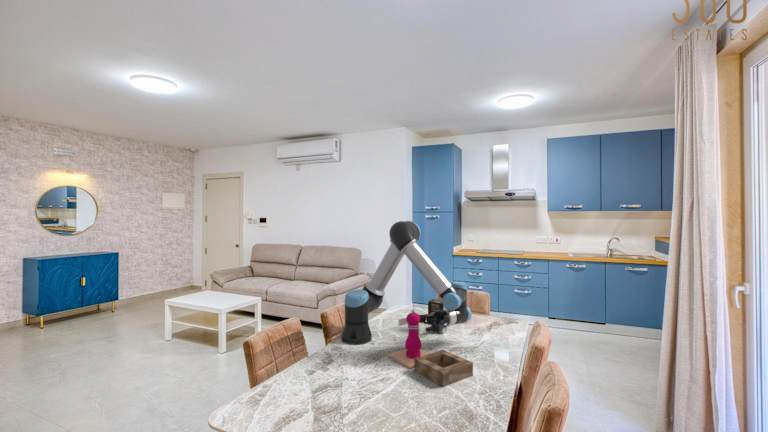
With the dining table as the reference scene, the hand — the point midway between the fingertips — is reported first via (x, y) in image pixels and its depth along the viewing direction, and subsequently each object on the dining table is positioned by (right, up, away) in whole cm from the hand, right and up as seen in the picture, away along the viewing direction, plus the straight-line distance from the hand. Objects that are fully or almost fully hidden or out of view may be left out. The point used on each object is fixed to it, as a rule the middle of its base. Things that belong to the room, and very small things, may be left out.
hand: (408, 326), depth 150 cm
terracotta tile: (+2, -14, +2) cm, 14 cm away
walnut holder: (+12, -14, -13) cm, 23 cm away
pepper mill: (+2, -13, +2) cm, 14 cm away
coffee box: (+18, -15, +38) cm, 44 cm away
